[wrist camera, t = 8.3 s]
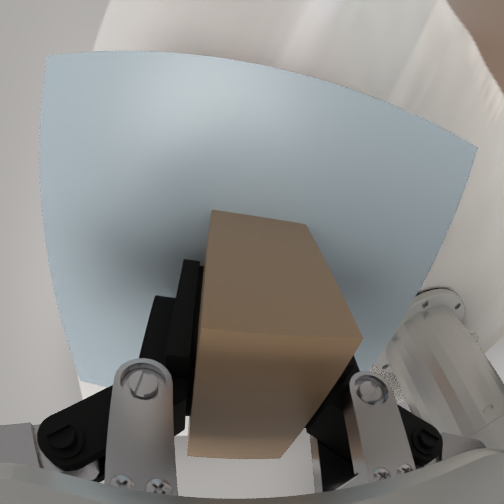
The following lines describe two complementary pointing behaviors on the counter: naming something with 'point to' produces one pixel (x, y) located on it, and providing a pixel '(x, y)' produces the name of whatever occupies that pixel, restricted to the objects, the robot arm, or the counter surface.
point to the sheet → (234, 159)
